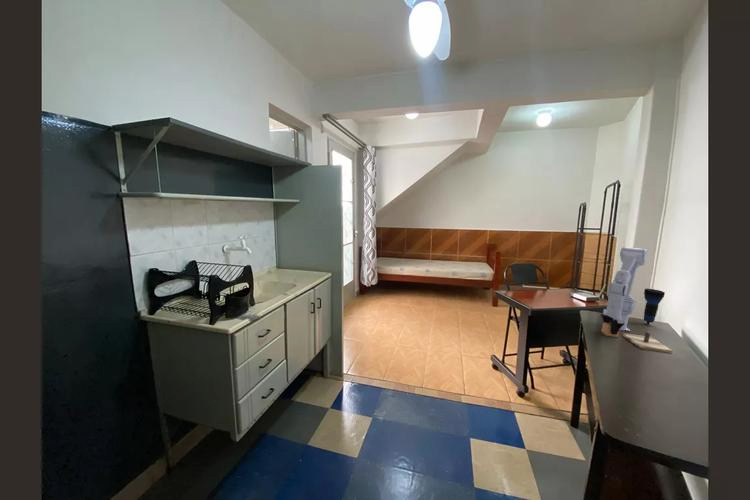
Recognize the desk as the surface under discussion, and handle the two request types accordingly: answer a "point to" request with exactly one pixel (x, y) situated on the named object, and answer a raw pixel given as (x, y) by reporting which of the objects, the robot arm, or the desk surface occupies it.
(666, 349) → the post board
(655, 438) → the desk surface
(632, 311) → the robot arm
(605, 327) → the square collar
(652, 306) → the flashlight
